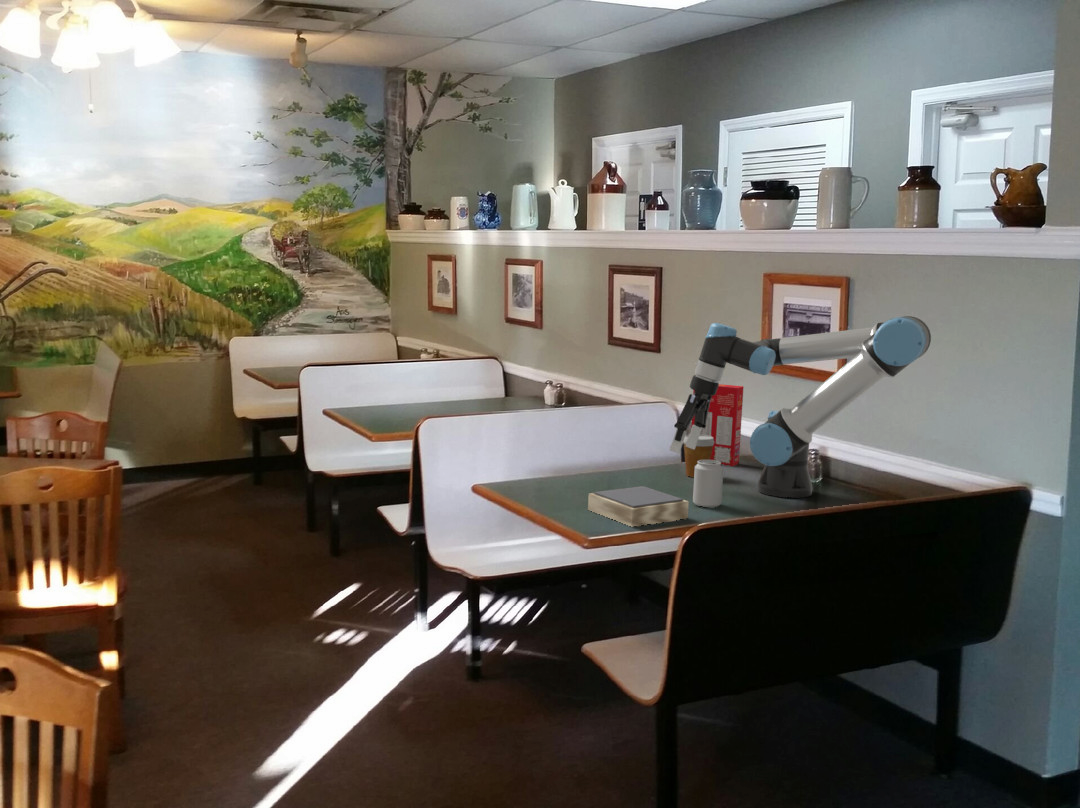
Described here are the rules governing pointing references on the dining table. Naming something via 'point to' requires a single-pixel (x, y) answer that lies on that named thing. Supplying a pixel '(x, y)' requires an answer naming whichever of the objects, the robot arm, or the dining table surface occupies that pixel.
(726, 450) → the food packaging
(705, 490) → the can
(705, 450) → the disposable coffee cup
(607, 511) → the dock
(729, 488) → the dining table surface
